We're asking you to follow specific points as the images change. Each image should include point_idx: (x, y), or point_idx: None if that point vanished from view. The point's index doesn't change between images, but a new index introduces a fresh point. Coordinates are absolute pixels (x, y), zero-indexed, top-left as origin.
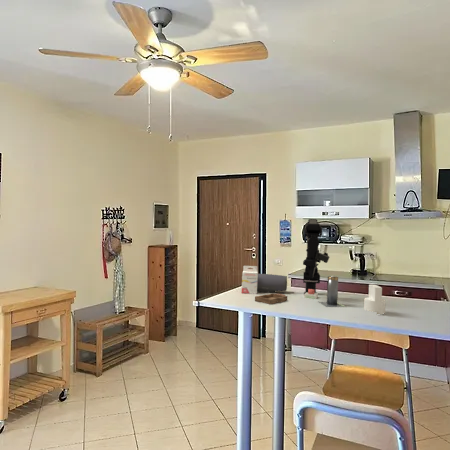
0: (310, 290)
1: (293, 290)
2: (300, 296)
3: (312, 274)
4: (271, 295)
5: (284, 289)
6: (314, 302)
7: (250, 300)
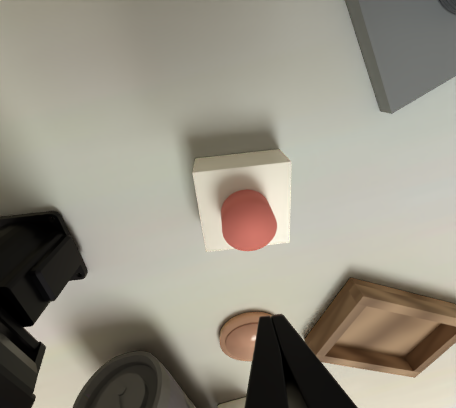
0: (276, 225)
1: None
2: (177, 266)
3: (315, 364)
4: (330, 351)
5: (159, 361)
6: (327, 146)
7: None
